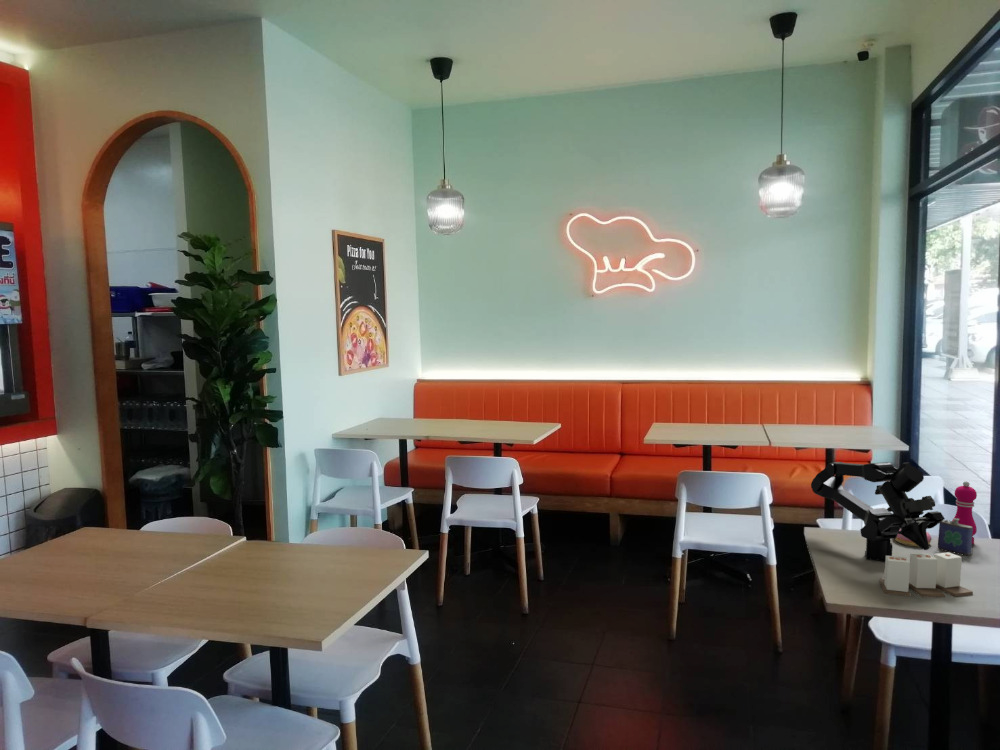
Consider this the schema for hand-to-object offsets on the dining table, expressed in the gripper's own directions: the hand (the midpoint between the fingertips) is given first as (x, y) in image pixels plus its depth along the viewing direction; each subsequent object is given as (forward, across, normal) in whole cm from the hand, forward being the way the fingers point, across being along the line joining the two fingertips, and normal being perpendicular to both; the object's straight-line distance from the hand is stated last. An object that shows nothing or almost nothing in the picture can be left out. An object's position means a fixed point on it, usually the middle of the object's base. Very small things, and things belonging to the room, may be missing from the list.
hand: (927, 549), depth 199 cm
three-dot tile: (+10, -15, +2) cm, 18 cm away
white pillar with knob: (+11, 0, +1) cm, 11 cm away
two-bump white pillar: (+10, -7, +2) cm, 12 cm away
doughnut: (-12, +22, +25) cm, 35 cm away
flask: (-5, +27, +17) cm, 32 cm away
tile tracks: (+10, -6, +2) cm, 12 cm away
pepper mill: (-10, +38, +22) cm, 45 cm away
